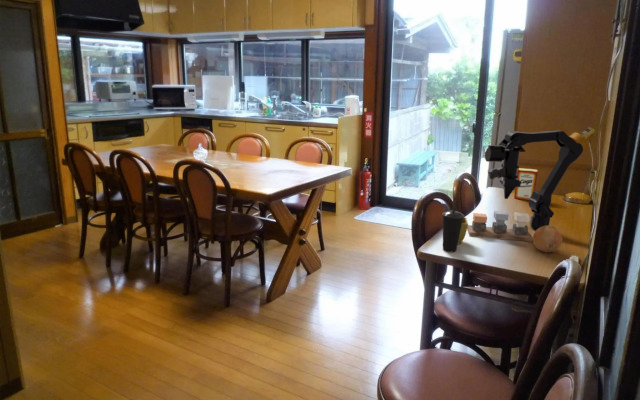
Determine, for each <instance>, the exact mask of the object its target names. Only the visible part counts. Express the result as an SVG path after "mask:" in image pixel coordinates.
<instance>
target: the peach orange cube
mask: <svg viewBox="0 0 640 400" xmlns="http://www.w3.org/2000/svg"><path fill="white" fill-rule="evenodd" d="M472 219H473V220H474V222H475V223H476V224H483V223H486V224H487V222H488V216H487V214H486V213H478V212H477V213H476V212H474V213H473V215H472ZM473 220H472V221H473Z"/></svg>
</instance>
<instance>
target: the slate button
mask: <svg viewBox="0 0 640 400" xmlns="http://www.w3.org/2000/svg"><path fill="white" fill-rule="evenodd" d="M509 215H510V214H509V213H508V211H503V210H494V211H493V219H494V220H495V222H496V225H500V226H504V223H505V221H509V217H510V216H509Z"/></svg>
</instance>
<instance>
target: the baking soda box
mask: <svg viewBox="0 0 640 400" xmlns="http://www.w3.org/2000/svg"><path fill="white" fill-rule="evenodd" d="M538 172H539V170H538V169H533V168H523V167H521V168H520V167H519V168H518V169H517V176H518V177H517V179H518V180H519V181H520V182H521V186H520V187H515V188H514V190H515V191H514V196H513V197H514V198H513V199H516V200H522V201H523V200H525V201H529V198H530V197H531V195H532V193H533V191H535V192H536V186H537V185H536V184H537V178H538V174H539V173H538Z"/></svg>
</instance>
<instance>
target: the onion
mask: <svg viewBox="0 0 640 400" xmlns="http://www.w3.org/2000/svg"><path fill="white" fill-rule="evenodd" d="M532 237H533V241H532V242H533V244H534V246H535V248H537V250H540V252H544V253H552V252H555V251H557V250H558V249H559V248H560V247H561V246H562V243H563V235H562V233H561V232H560V231H559V229H557V227H556V226H554V225H550V224H549V225H548V226H542V227H540V228H538V229H537V230H534V232H533V235H532Z"/></svg>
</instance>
